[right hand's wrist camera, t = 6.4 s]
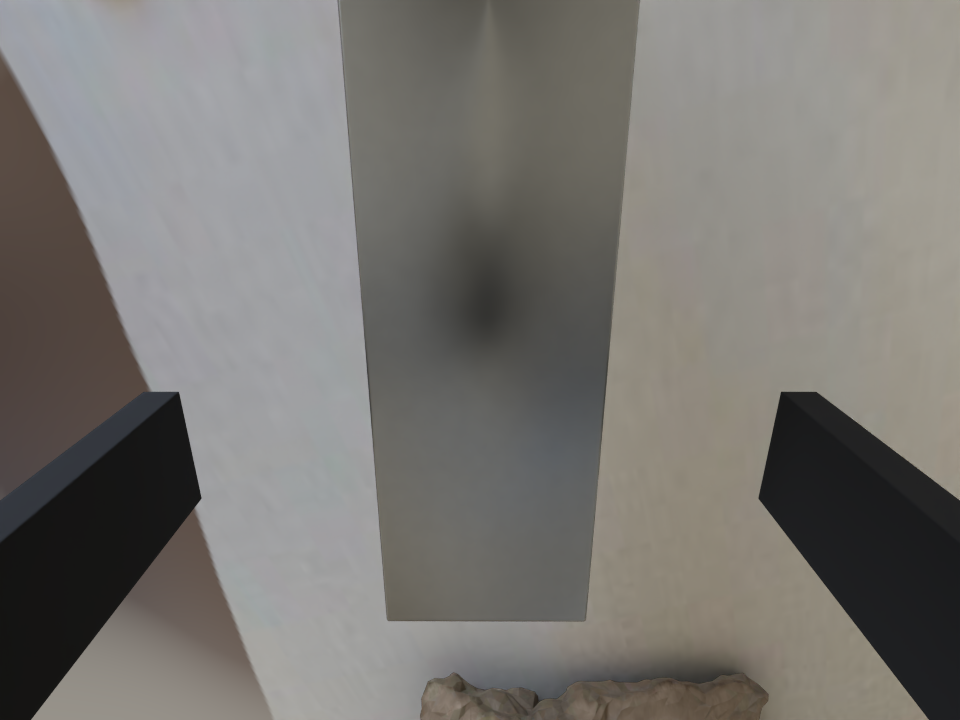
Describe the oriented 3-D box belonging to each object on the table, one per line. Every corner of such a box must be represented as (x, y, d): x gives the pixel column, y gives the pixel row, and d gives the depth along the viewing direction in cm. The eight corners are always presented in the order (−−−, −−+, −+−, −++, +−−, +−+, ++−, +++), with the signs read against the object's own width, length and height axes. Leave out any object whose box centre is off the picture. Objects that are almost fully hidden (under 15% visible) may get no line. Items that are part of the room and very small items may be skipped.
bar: (546, 440, 21) (586, 622, 13) (422, 440, 21) (386, 622, 13) (596, -597, 12) (816, -2023, 4) (377, -595, 12) (174, -2017, 4)
